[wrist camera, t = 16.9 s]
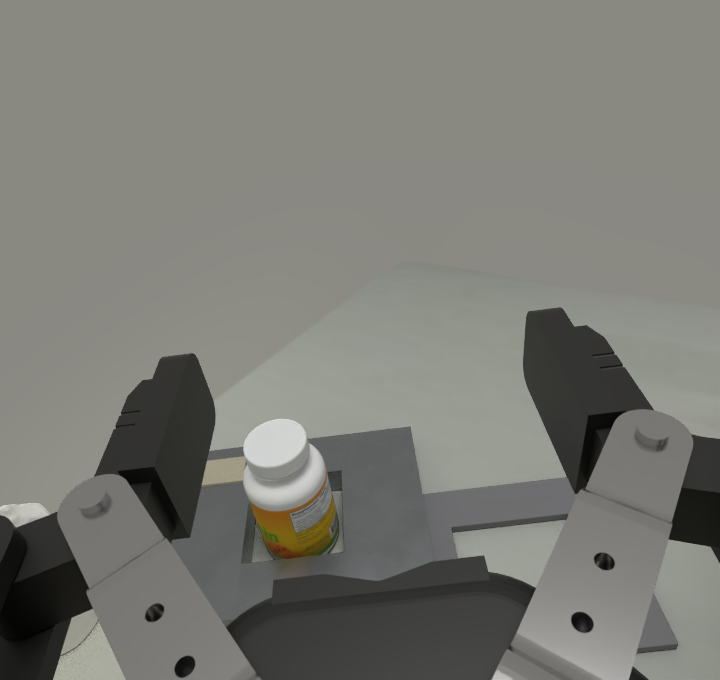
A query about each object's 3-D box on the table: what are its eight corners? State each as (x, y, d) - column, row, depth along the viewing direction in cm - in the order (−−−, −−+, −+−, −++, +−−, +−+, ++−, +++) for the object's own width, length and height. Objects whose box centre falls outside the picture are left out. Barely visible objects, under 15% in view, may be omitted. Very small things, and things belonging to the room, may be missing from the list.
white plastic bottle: (1, 450, 33) (41, 495, 30) (83, 563, 41) (123, 609, 37) (-112, 520, 30) (-80, 579, 27) (-1, 630, 37) (35, 687, 34)
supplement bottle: (252, 531, 41) (216, 439, 35) (314, 490, 43) (289, 398, 38) (289, 584, 37) (256, 491, 32) (354, 537, 40) (334, 443, 34)
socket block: (412, 445, 46) (410, 424, 44) (441, 614, 35) (439, 593, 33) (195, 471, 46) (186, 452, 45) (154, 646, 35) (140, 627, 34)
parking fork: (403, 501, 41) (402, 496, 41) (593, 479, 41) (594, 474, 41) (427, 675, 32) (427, 671, 31) (676, 648, 31) (678, 643, 31)
